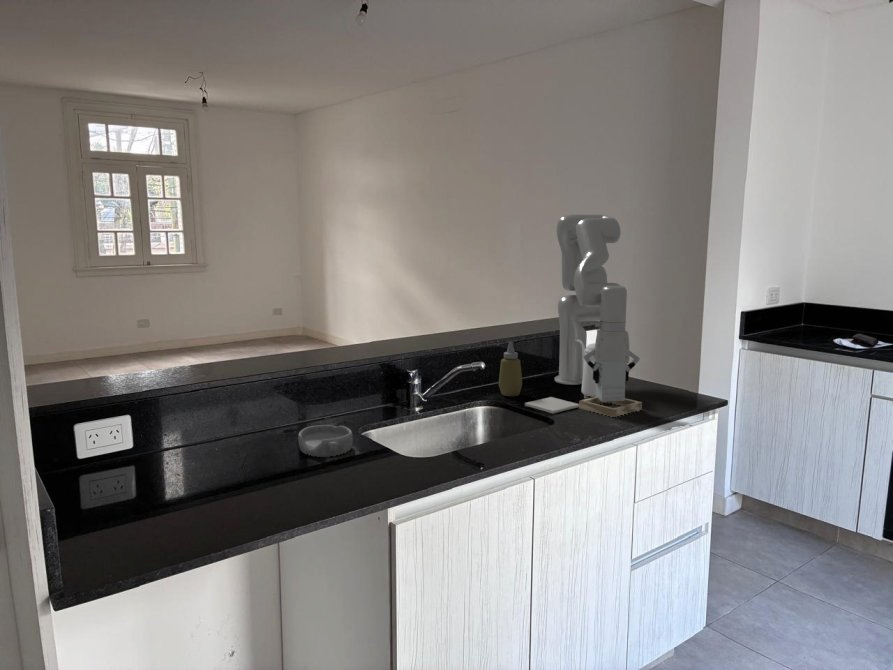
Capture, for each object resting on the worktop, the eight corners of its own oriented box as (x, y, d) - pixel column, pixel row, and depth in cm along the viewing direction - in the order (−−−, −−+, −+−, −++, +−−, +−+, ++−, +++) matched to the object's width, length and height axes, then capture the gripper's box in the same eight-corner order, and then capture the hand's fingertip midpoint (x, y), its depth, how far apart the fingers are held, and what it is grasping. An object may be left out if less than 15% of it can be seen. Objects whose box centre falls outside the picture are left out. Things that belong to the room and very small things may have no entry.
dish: (342, 461, 162) (341, 441, 161) (289, 457, 165) (288, 438, 164) (361, 442, 176) (361, 424, 175) (312, 439, 179) (311, 421, 178)
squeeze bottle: (496, 396, 222) (496, 343, 219) (501, 391, 229) (501, 339, 227) (519, 398, 220) (520, 344, 217) (524, 392, 227) (525, 340, 224)
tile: (551, 399, 218) (551, 396, 218) (579, 406, 209) (579, 404, 209) (524, 405, 211) (524, 403, 211) (553, 413, 201) (553, 410, 201)
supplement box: (618, 395, 209) (619, 355, 207) (625, 401, 202) (626, 361, 200) (594, 395, 209) (596, 356, 207) (600, 402, 202) (602, 361, 200)
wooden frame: (606, 401, 215) (606, 394, 214) (641, 410, 204) (641, 402, 204) (578, 408, 207) (579, 400, 206) (614, 417, 196) (614, 409, 196)
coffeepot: (587, 384, 238) (588, 332, 235) (634, 400, 216) (636, 343, 213) (562, 388, 233) (563, 335, 230) (607, 404, 211) (609, 346, 208)
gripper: (584, 328, 199) (582, 385, 202) (644, 329, 197) (641, 386, 200) (582, 324, 206) (580, 379, 209) (640, 325, 204) (637, 380, 207)
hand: (610, 382), depth 205 cm, fingers closed on supplement box, 8 cm apart
